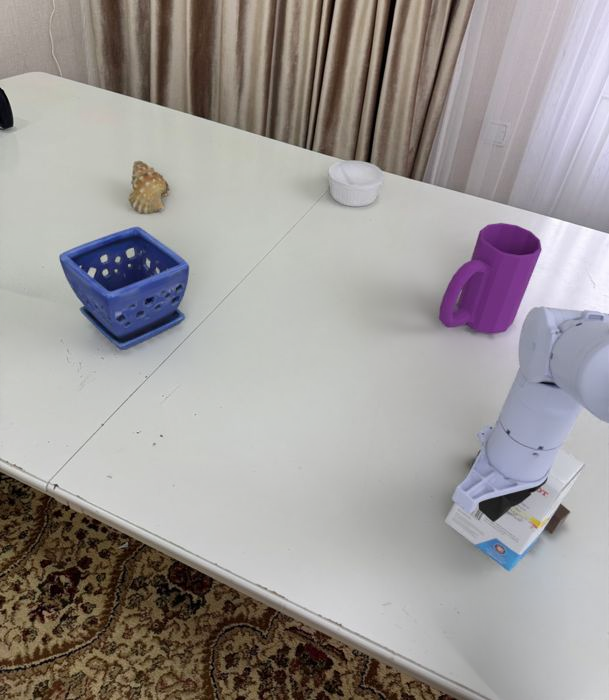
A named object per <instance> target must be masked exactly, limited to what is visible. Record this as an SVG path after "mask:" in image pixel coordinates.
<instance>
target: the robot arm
mask: <svg viewBox="0 0 609 700" xmlns="http://www.w3.org/2000/svg"><path fill="white" fill-rule="evenodd" d="M518 342H519V343H518V364H519V368H518V370H517V372H516V375H515V376H514V379H513V381H512V384H511V387H510V389H509V391H508V393H507V396H506V398H505V400H504V402H503V405H502V407H501V409H500V412H499V415H498V417H497V420H496V422H495V424H494V425H486V426H485V427H483V428H482V429H481V430H479V431H478V433H477V436H476V438H477V440H478V441H479V442H480V443H481V444H482V447H481V449H480V450H481V451H480V450H479V451H480V453H479V452H478V453H479V455H478V454H477V455H478V457H477V456H476V457H477V458H475V459H474V460H473V463H472V465H471V468H470V470H469V472H468V473H467V475H466V477H465V479H463V480H462V482H460V483H459V484H458V485H456V488H455V490H454V492H453V494H452V497H451V500H452V501H453V502H454V503H457V505H458V506H459V507H460V508H462V509H463V510H464V511H465V512H466V513H467V514H470V513H472V512H473V511H474V510H475V509H476V507H477V504H478V503H479V510H480V511H481V512H482V513H484V514H485V515H486V516H487V517H488V518H489V519H490V520H491V521H492V522H495V521H496V520H498V519H499V518H500V517H501V516H503V515H504V514H505V513H506V512H507V511H508V510H509V509H510V508H511V507H512V506H516V505H518V504H520V503H521V502H523V501H524V500H525V499H527V498H528V497H529V496H530V495H532V494H531V493H532V492H535V491H536V490H538V489H539V488H540V487H541V486H543V485H544V484H545V483H546V481H547V479H548V475H549V473H550V471H551V468H552V466H553V463H554V461H555V458H556V456H557V454H558V452H559V450H560V448H561V449H562V446H563V445H564V443H565V442H566V440H567V438H568V436H569V434H570V432H571V431H572V429H573V427H574V425H575V424H576V421H577V420H578V418H579V416H580V415H581V412H582V410H583V408H584V409H585V410H587V411H588V412H589V413H590V414H591V415H592V416H593V417H595V418H597V420H600V421H602V422H604V423H607V424H609V313H607V312H606V313H605V312H601V311H598V310H589V309H588V310H587V309H584V310H578V309H566V308H558V307H548V306H539V307H537V306H536V307H532V308H531V309H530V310H529V312H528V313H527V315H526V317H525V318H524V320H523V324H522V326H521V330H520V335H519V341H518Z"/></svg>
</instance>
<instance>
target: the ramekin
mask: <svg viewBox="0 0 609 700" xmlns="http://www.w3.org/2000/svg"><path fill="white" fill-rule="evenodd" d="M327 178H328V185H329V193H330V196H331V197H332V199H333V200H334V201H336V202H337V203H339V204H341V205H344V206H346V207H347V206H348V207H355V208H357V207H365V206H366V207H367V206H369V205H371V204H372V203H373V202H375V201H376V200H377V198H378V195H379V193H380V191H381V187H382V185H383V183H384V181H385V173H384V172H383V171H382V169H381V168H380V167H379V166H377V165H375V164H373V163H370V162H367V161H362V160H354V159H353V160H352V159H351V160H341V161H338V162H335V163H333V164H332V165H330V166H329V168H328V170H327Z"/></svg>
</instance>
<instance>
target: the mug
mask: <svg viewBox="0 0 609 700" xmlns="http://www.w3.org/2000/svg"><path fill="white" fill-rule="evenodd" d="M541 253H542V243H541V239H539V237H537V236H536V235H535V234H534V233H533V232H532V231H531V230H529V229H527V228H524V227H521V226H520V225H517V224H511V223H505V222H497V223H489V224H487V225H485V226H484V227H483V228H481V229H480V230H479V232H478V236H477V239H476V242H475V245H474V249H473V252H472V255H471V259H470V260H469V261H467V262H465V263H463V264H462V265H461V266H460V267H459V268H458V269H456V271H455V273H453V275H452V277H451V279H450V280H449V283H448V284H447V287H446V289H445V291H444V294H443V296H442V299H441V303H440V307H439V313H438V314H439V315H438V320H439V321H440V322H441V323H442V325H443V326H444V327H445V328H448V329H449V328H451V329H453V328H457V327H461V326H463V325H466V326H468V327H469V328H471V329H472V330H473V331H476V332H478V333H484V334H489V335H495V334H498V333H504V332H506V331H507V330H508V329H509V328H510V327H511V326H512V325H513V324H514V322H515V319H516V317H517V314H518V311H519V309H520V307H521V304H522V301H523V299H524V296H525V294H526V292H527V288H528V286H529V284H530V281H531V278H532V276H533V273H534V271H535V269H536V265H537V263H538V260H539V258H540V256H541ZM455 307H456V310H455Z"/></svg>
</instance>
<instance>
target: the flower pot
mask: <svg viewBox="0 0 609 700" xmlns="http://www.w3.org/2000/svg"><path fill="white" fill-rule="evenodd" d="M131 249H133V251H134V255H133V256H129V257H128V254H127V251H129V250H131ZM105 255H106V258H107V260H105V261H103V262H102V259H101V258H102V257H104V256H105ZM117 258H119V261H116V259H117ZM58 259H59V263H60V266H61V268H62V271H63V274H64V276H65V279H66V280H67V283H68V284H69V286H70V288H71V289H72V291H73V293H74V295H75V296H76V297H77V298H78V300H79V301H80V302H81V304H82V306H81V307H80V308H79V311H80V313H81V314H82V315H83V316H84V317H85V318H86V319H87V321H89V322H90V323H91V324H92V325H93V326H95V328H96V329H97V330H98V331H99V332H100V333H101V334H102V335H103V336H104V337H105V338H106V339H107V340H109V341H110V343H112V344H113V345H114V346H115V347H116V348H118V349H119V350H120V351H126V350H128V349H130V348H132V347H136V346H137V345H139V344H141V343H143V342H145V341H148V340H149V339H152V338H154V337H156V336H158V335H160V334H162V333H164V332H166V331H169V330H171V329H172V328H174V327H176V326H178V325H179V324H181V323H182V322H183V321H184V320H185V319H186V315H185V314H184V312H183V311H181V310H180V309H179V306H180V305H181V303H182V301H183V298H184V296H185V293H186V290H187V286H188V283H189V282H188V281H189V276H190V274H189V273H190V264H189V263H188V262H187V261H186V260H185V259H184V258H182V256H180V255H179V254H177V252H175V251H174V250H173V249H171V248H170V247H169V246H167V245H166V244H164V243H163V242H161V241H160V240H159V239H157V238H156V237H154V236H153V235H152V234H150V233H149V232H147V231H146V230H145V229H143V228H141V227H140V226H132V227H128V228H126V229H123V230H120V231H117V232H116V231H115V232H114V233H110V234H108V235H106V236H103V237H100V238H97V239H94V240H91V241H88V242H85V243H83V244H80V245H77V246H75V247H72V248H70V249H68V250H65V251H64V252H62V253H60V254H59V256H58ZM147 260H148V261H149V265H148V264H147ZM129 265H130V266H129ZM90 269H95V271H94V275H93V277H92V276H91V275H90V274H89V271H90ZM157 269H158V271H159V272H157ZM106 270H107V274H106V275H104V271H106Z"/></svg>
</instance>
